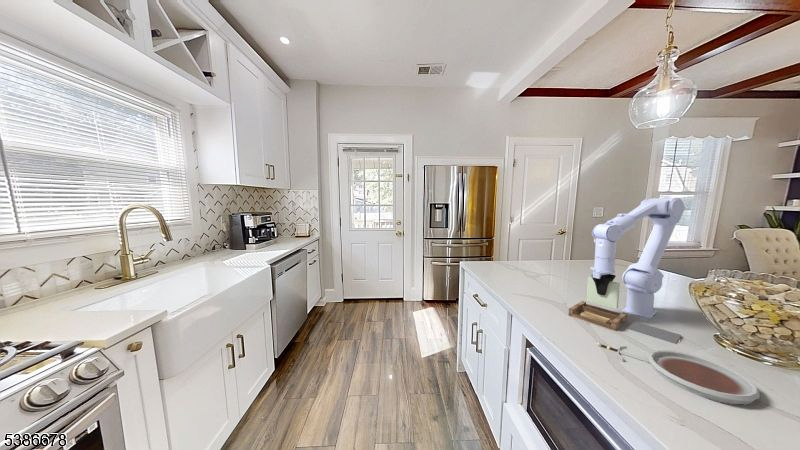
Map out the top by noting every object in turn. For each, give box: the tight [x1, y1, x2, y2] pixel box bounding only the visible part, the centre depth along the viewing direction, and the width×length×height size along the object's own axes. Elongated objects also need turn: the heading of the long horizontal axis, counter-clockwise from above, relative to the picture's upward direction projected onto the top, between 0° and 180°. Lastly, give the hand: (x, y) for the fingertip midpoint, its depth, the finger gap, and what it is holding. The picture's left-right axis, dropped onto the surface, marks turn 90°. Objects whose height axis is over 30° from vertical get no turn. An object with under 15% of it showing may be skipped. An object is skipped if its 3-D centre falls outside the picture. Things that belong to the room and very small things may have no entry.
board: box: [585, 276, 621, 310], centre depth 92 cm, size 2×9×9 cm, turn 34°
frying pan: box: [595, 341, 760, 406], centre depth 64 cm, size 17×3×28 cm
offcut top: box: [579, 311, 611, 324], centre depth 89 cm, size 4×8×1 cm, turn 32°
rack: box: [568, 300, 628, 332], centre depth 90 cm, size 12×14×3 cm
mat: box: [626, 321, 682, 345], centre depth 81 cm, size 8×11×1 cm
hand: (602, 294), depth 92 cm, fingers closed on board, 1 cm apart
